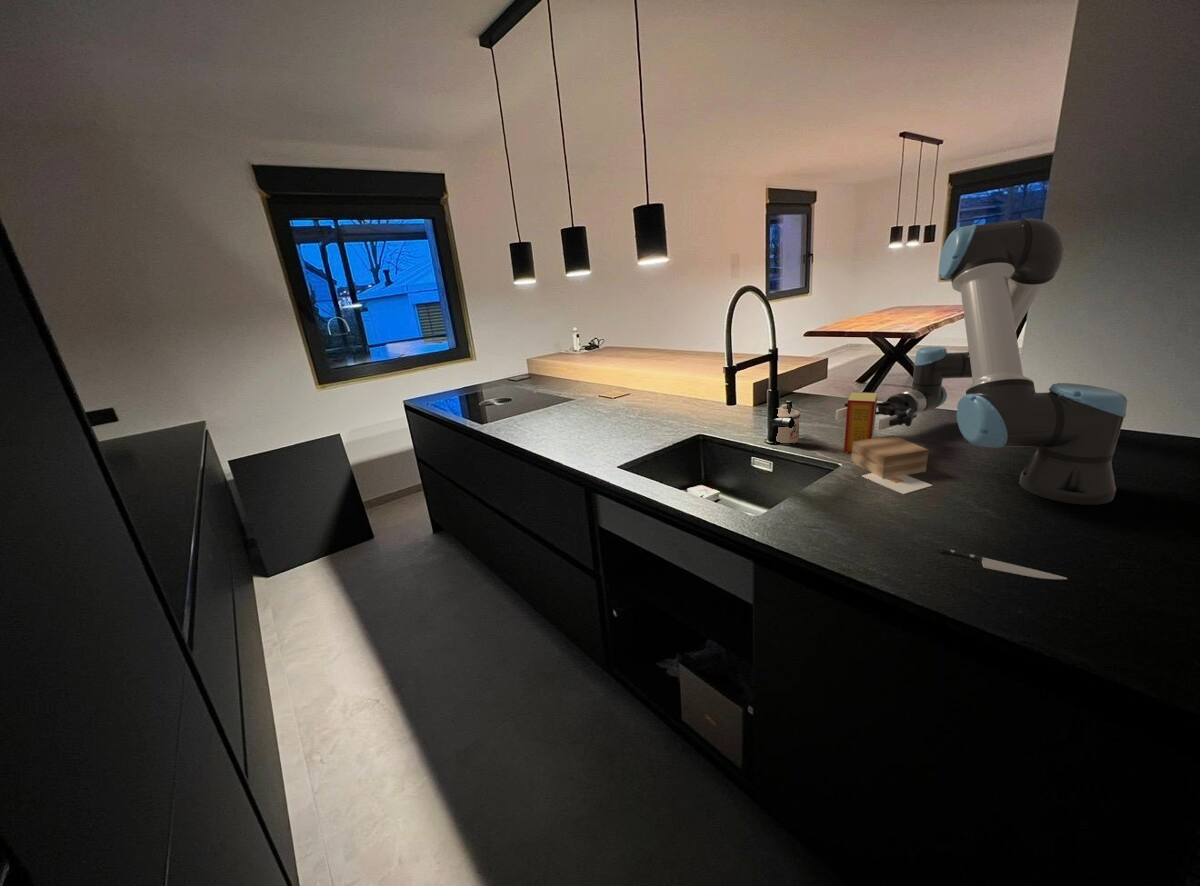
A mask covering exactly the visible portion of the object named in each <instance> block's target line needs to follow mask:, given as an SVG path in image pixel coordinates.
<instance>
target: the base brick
mask: <svg viewBox="0 0 1200 886" xmlns="http://www.w3.org/2000/svg"><path fill="white" fill-rule="evenodd" d="M929 451H930V450H929V449H927V448H925V447H923V446H920V445H918V444H915V443H913V442H911V441H908V440H905V439H903V438H901V437H898V436H896V435H894V434H893V435H888V436H887V435H886V436H881V437H880V436H879V437H873V439H867V440H860V441H854V442H853V444H852V454H851V459H850V463H851V462H853V463H854V465H855V464H856V465H855V466H857V465H858V466H857V467H859V466H860V467H859V468H861V467H862V468H861V469H862V470H864V469H865V470H864V471H866V470H867V471H866V472H868V471H869V472H868V473H870V472H871V473H873V474H875V475H877V476H879V477H881V478H888V477H894V476H900V475H907V476H911V475H915V474H920V473H921V472H922V473H926V472H927V466H928V458H929V453H930V452H929ZM853 463H852V464H853ZM922 473H921V474H922Z"/></svg>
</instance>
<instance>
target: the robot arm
mask: <svg viewBox="0 0 1200 886" xmlns="http://www.w3.org/2000/svg"><path fill="white" fill-rule="evenodd" d="M1064 249H1065V248H1064V241H1063V239H1062V236H1061V235H1060V232H1059V230H1058V229H1057V228H1056V227H1055V226H1054V225H1052V224H1051V223H1049V222H1048V221H1046V220H1042V219H1040V218H1023V219H1022V218H1021V219H1016V220H1010V221H1009V220H1007V221H1001V222H1000V221H999V222H993V223H986V224H985V223H984V224H978V225H977V223H974V224H972V225H966V226H960V227H957V228H955V229H954V230H952V231H951V232H950V234H949V235H948V237H947V238H946V240H945V242H944V244H943V247H942V249H941V250H942V251H941V254H940V257H939V264H938V274H939V276H940V278H941V279H944V280H949V279H950V280H951V286H952V289H953V290H954V291H956V292H959V293H960V295H961V302H962V310H963V317H964V325H965V333H966V340H967V341H966V342H967V348H968V351H966V352H947V349H946V348H945V347H944V346H923V347H920V348H918V349H917V351H916V354H915V358H914V361H913V362H914V363H913V374H912V375H913V377H912V383H911V389H910V390H907V391H902V392H900V393H897V394H893V395H891V396H889V397H888V398H887V400H886V401H882V402H877V404H876V409H877V411H876V414H875V416H877V415H883V416H888V417H885V418H882V419H879V420H878V431H879V430H880V431H883V430H885V429H888V428H892V427H895V426H902V425H904V426H907V427H911V425H912V422H913V420H914V419H915V418H917V414H921V413H924V412H927V411H932V410H934V409H937V408H939V407H940V406H942V405H943V404H944V403H945V402H946V401H947V398H948V394H947V390H946V389H945V387H944V386H942V384H943V380H944V379H966V378H968V379H969V378H971V379H972V384H971V385H969V387H968V388H966V390H965V395H963V396H962V397H961V398H960V399H959V400H958V403H957V407H956V409H957V411H956V420H957V425H958V428H959V432H960V433H961V435H962V436H963V438H964V439H965V440H966V441H967V442H968V443H970V444H971V445H973V446H977V447H988V448H990V447H991V448H993V449H999V448H1009V447H1010V448H1013V447H1014V448H1024V447H1025V448H1029V447H1030V448H1034V447H1035V448H1036V452H1035V453H1034V455H1033V457H1032V458H1031V459H1030V460H1029V462H1028V463H1027V465H1026V466H1025V468H1024V469H1023V470H1022V471H1021V473H1020V475H1019V476H1020V477H1019V481H1018V484H1019V485H1020V487H1021V488H1022V489H1024V490H1025V491H1026V492H1029V493H1031V494H1033V495H1035V496H1037V497H1041V498H1044V499H1047V500H1051V501H1056V502H1059V503H1066V504H1072V505H1081V506H1082V505H1083V506H1084V505H1087V506H1092V505H1093V506H1095V505H1098V506H1099V505H1104V504H1108V503H1111V502H1112V501H1113V500H1114V498H1115V495H1116V491H1117V485H1116V483H1115V475H1114V472H1113V464H1112V461H1113V457H1114V454H1115V452H1116V451H1115V450H1116V447H1117V443H1118V439H1119V437H1120V433H1121V429H1122V425H1123V422H1124V419H1125V418H1126V416H1127V415H1126V413H1127V405H1128V399H1127V396H1126V395H1124V394H1122V393H1121V392H1119V391H1116V390H1113V389H1109V388H1106V387H1099V386H1094V385H1089V384H1082V383H1081V384H1080V383H1070V382H1058V383H1053V384H1052V385H1051V386H1050V387H1049V388H1048V391H1049V392H1048V391H1047V392H1036V389H1035V387H1036V386H1035V383H1034V381H1033V379H1031V378H1028V377H1026V376H1025V375H1024V373H1023V367H1022V362H1021V354H1020V350H1019V349H1020V348H1019V343H1018V337H1017V332H1016V331H1017V330H1018V327H1019V326H1020V325H1021V323H1022V321H1023V319H1024V317H1025V316H1026V314H1027V312H1028V311H1029V309H1030V307H1031V306H1032V304H1033V303H1034V301H1035V299H1036V298H1037V296H1038V294H1039V293H1040V291H1041V290H1042V288H1043V286H1044V285H1045V284H1048V283H1049V282H1050V281H1052V280H1053V278H1055V276H1056V274H1057V272H1058V270H1059V269H1060V266H1061V265H1062V261H1063V258H1064ZM847 405H848V402H846V403H844V407H842V408H840V409H836V410H835V418H834V419H835V420H841V419H844V418H847Z"/></svg>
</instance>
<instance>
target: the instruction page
mask: <svg viewBox="0 0 1200 886" xmlns="http://www.w3.org/2000/svg"><path fill="white" fill-rule="evenodd" d="M861 476H862V478H863V477H864V478H863V479H866V480H868V479H869V480H868V481H870V480H871V482H873V483H876V484H878V485H880V486H882V487H885V488H887V489H890V490H892V491H894V492H897V493H900V494H901V495H906V494H910V493H913V492H916V491H920V490H923V489H926V488H930V487H933V484H930V483H928V482H926V481H922V480H920V479H917V478H915V477H912V476H911V475H900V476H894V477H888V478H881V477H879V476H877V475H875V474H873V473H870V472H869V473H866V474H863V475H861Z"/></svg>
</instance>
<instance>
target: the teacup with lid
mask: <svg viewBox="0 0 1200 886" xmlns="http://www.w3.org/2000/svg"><path fill="white" fill-rule="evenodd" d="M787 405H788V404H786V403H784V404H781V405H780V407H777V409H778V414H777V416H778V417H779V418H789V417H792V418H793V420H794V422H795V424H794V426H793V427H792V428H789V427H778V433H777V436H776V441H777V442H780V443H792V442H796V441H797V442H799V438H800V436H799V435H800V417H801V413H800V411H799V410H796V409H793V408H791V407H790V408H791V412H790V414H789V413H788V409H787ZM797 442H796V443H797Z"/></svg>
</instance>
